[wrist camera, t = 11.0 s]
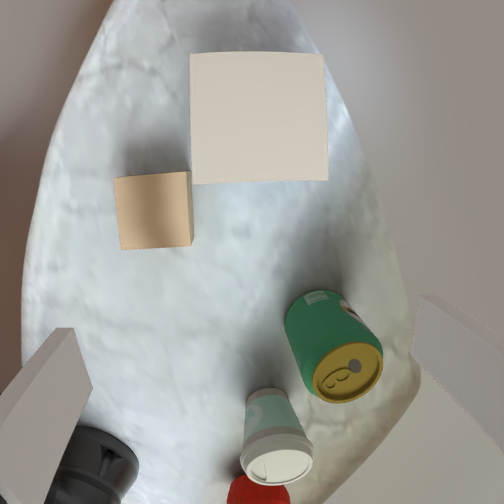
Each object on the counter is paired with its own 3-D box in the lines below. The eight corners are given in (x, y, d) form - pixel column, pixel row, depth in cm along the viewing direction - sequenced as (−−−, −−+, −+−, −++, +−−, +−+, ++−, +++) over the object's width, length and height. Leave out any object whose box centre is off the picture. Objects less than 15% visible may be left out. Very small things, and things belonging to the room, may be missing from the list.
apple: (217, 485, 46) (218, 536, 35) (242, 456, 44) (248, 514, 33) (266, 494, 48) (274, 542, 37) (295, 467, 46) (308, 519, 35)
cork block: (131, 240, 34) (121, 250, 30) (126, 176, 32) (114, 178, 28) (194, 236, 34) (190, 246, 30) (190, 170, 32) (186, 171, 29)
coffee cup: (252, 371, 39) (262, 439, 28) (308, 388, 41) (332, 452, 29) (226, 415, 41) (228, 481, 30) (279, 428, 43) (293, 491, 31)
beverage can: (357, 320, 39) (399, 374, 27) (304, 356, 39) (330, 419, 28) (327, 273, 37) (369, 319, 25) (270, 312, 37) (289, 373, 26)
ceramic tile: (195, 183, 27) (192, 184, 25) (191, 61, 24) (189, 53, 22) (321, 179, 28) (328, 180, 26) (316, 61, 25) (323, 54, 23)
